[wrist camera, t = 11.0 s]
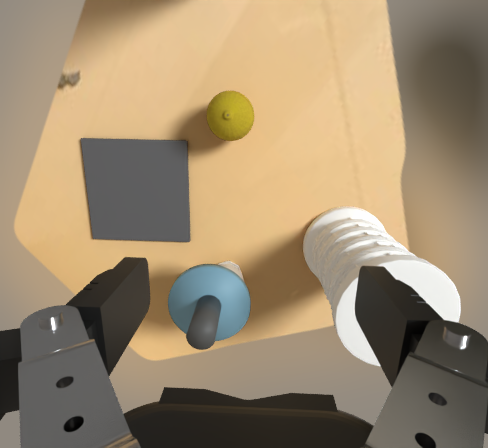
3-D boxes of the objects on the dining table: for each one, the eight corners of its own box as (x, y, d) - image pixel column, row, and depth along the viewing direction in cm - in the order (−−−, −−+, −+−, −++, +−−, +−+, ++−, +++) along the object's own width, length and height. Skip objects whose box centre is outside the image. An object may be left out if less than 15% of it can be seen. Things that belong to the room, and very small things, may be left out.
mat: (83, 138, 42) (80, 138, 42) (187, 140, 42) (186, 140, 41) (95, 237, 46) (93, 238, 46) (190, 240, 46) (189, 241, 45)
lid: (168, 262, 38) (149, 292, 31) (251, 264, 38) (250, 295, 31) (172, 334, 41) (156, 375, 34) (249, 336, 41) (248, 378, 34)
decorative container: (316, 291, 47) (351, 384, 30) (291, 222, 45) (314, 281, 27) (393, 267, 46) (476, 350, 29) (373, 193, 43) (451, 237, 26)
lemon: (223, 147, 42) (216, 150, 34) (204, 106, 41) (192, 101, 33) (261, 128, 41) (262, 128, 33) (243, 86, 40) (240, 76, 32)
